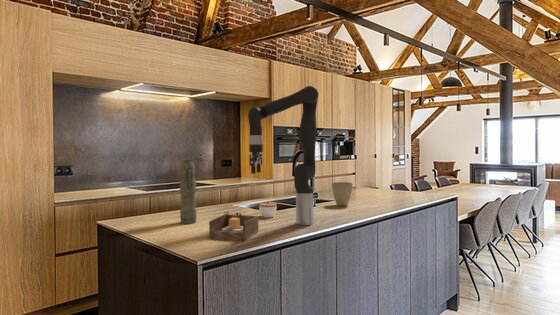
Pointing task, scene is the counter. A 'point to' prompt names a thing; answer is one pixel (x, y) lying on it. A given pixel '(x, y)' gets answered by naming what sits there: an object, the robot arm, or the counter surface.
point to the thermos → (188, 193)
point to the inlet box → (222, 231)
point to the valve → (229, 212)
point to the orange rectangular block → (234, 223)
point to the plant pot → (342, 192)
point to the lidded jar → (267, 209)
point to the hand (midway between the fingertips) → (256, 173)
